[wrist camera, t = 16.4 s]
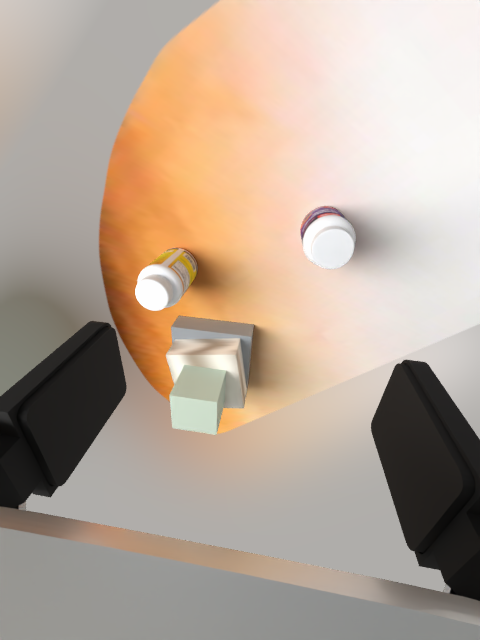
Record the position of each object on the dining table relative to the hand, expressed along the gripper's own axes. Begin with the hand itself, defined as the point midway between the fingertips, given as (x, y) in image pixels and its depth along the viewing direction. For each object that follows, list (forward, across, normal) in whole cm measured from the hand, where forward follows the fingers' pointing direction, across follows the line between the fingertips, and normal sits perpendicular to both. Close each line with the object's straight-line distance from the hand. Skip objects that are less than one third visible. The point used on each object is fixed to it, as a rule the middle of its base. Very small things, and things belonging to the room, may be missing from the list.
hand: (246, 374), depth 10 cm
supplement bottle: (+31, +13, +8) cm, 34 cm away
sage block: (+23, +7, +23) cm, 33 cm away
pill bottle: (+31, -6, +1) cm, 31 cm away
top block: (+27, +7, +22) cm, 36 cm away
